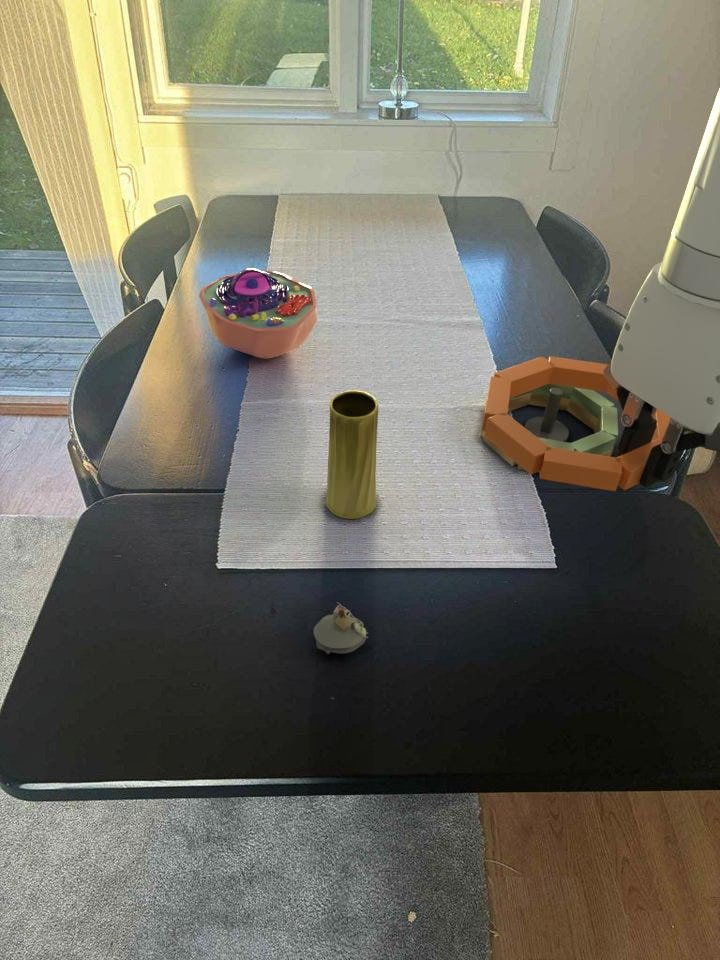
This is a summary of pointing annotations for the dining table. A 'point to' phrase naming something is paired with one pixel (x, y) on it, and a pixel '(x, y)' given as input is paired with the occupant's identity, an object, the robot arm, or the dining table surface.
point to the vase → (352, 455)
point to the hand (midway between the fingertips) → (641, 470)
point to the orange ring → (555, 460)
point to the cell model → (260, 312)
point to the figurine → (339, 632)
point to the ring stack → (555, 433)
